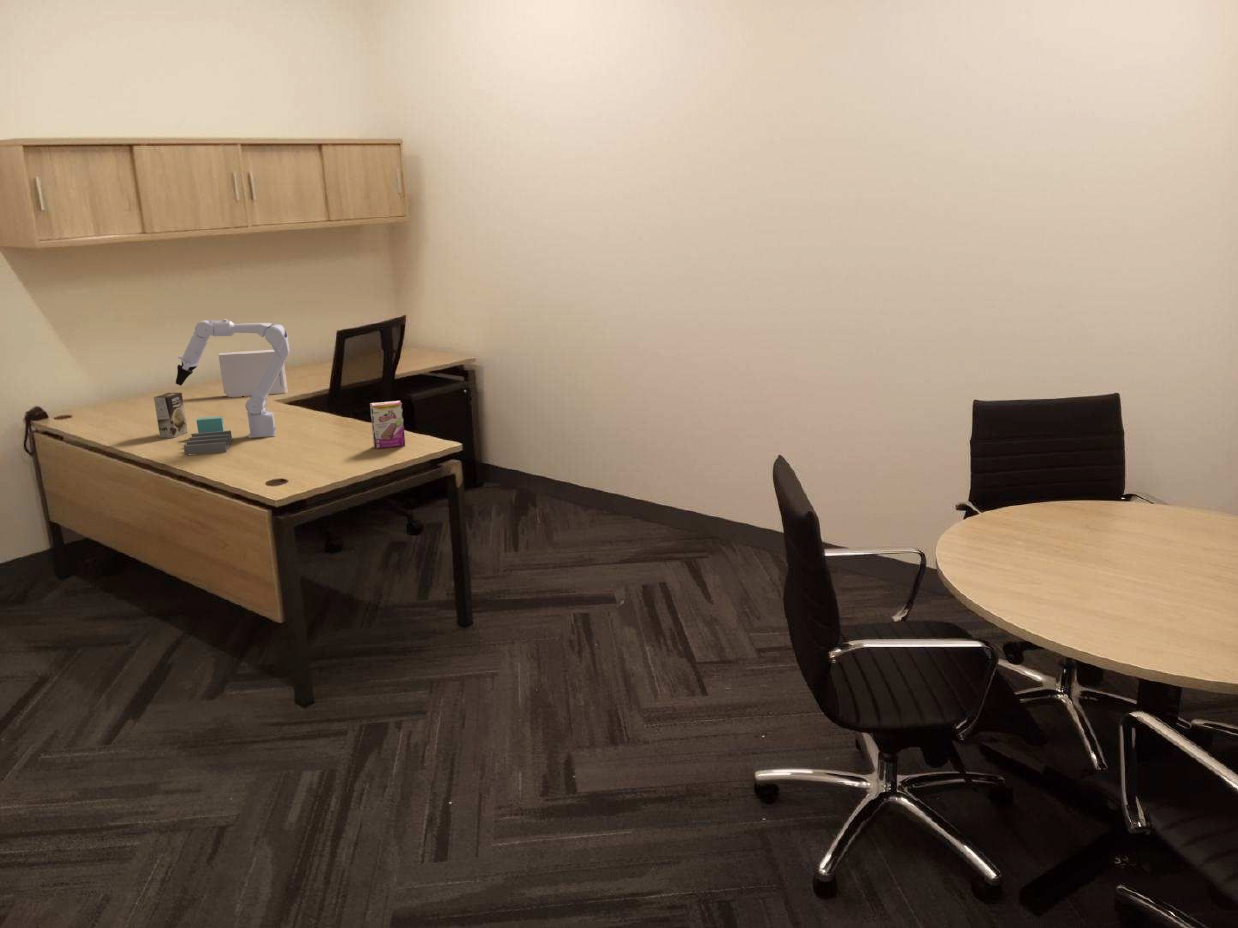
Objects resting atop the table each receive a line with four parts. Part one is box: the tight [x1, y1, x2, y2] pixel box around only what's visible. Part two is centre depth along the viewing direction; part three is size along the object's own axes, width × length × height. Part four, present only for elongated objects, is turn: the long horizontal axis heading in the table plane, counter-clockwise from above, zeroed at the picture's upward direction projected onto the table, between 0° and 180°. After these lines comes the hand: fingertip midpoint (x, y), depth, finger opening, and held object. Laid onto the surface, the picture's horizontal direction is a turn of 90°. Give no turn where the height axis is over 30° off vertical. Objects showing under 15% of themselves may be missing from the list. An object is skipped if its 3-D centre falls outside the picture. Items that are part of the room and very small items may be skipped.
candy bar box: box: [369, 400, 406, 450], centre depth 353 cm, size 11×5×16 cm, turn 110°
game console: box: [218, 349, 289, 398], centre depth 442 cm, size 6×27×20 cm, turn 106°
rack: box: [183, 430, 233, 456], centre depth 359 cm, size 14×19×4 cm
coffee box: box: [153, 392, 189, 439], centre depth 375 cm, size 9×6×16 cm
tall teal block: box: [195, 415, 226, 433], centre depth 373 cm, size 9×4×8 cm, turn 105°
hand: (180, 382), depth 364 cm, fingers open, 7 cm apart
